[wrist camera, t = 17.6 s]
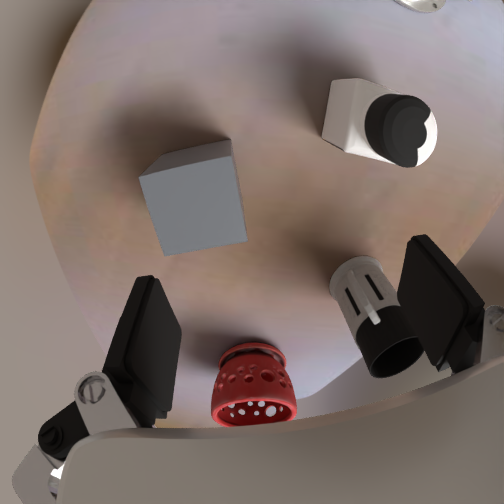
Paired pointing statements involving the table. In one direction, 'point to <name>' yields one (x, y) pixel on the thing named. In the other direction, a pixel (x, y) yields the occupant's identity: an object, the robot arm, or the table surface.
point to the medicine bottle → (379, 123)
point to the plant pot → (252, 386)
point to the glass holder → (375, 317)
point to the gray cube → (195, 198)
